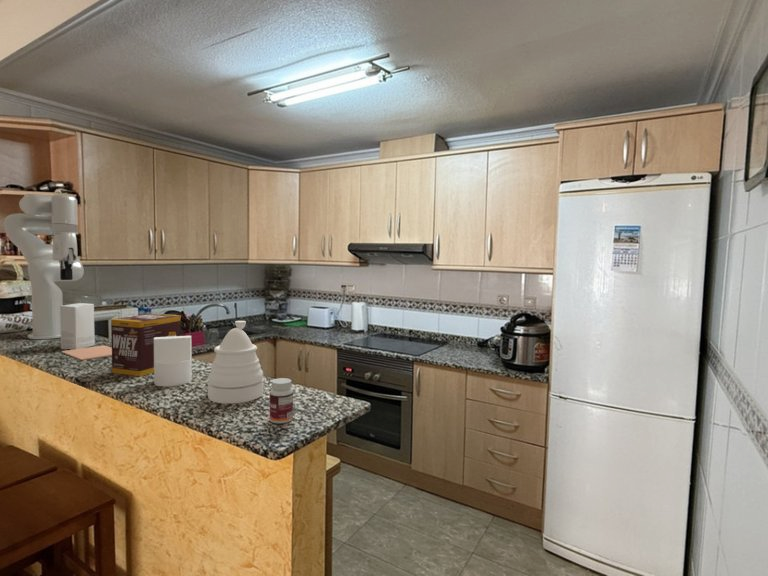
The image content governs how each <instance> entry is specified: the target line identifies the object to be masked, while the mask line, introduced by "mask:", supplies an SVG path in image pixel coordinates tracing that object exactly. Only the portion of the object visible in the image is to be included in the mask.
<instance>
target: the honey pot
mask: <svg viewBox="0 0 768 576" xmlns="http://www.w3.org/2000/svg"><path fill="white" fill-rule="evenodd" d="M246 324H247V321H246V320H235V321H234V325H235V326H236V327H234V328H232V329H230V330H228V332H227V333H226V335H225V336H224V338H223V339H222V341H221V342H220V345H217V346H216V347H214V349H213V351H214V353H216V355H215V358H214V360H213V361H212V366H211V368H210V372H209V373H208V375H207V398H208V399H209V400H210V401H211V402H213V403H214V402H215V403H218V404H219V403H220V404H239V403H240V404H241V403H246V402H251V401H254V400H256V399H258V398H261V397H262V396H263V394H264V370H262V367H261V363H260V358H259V357H258V356H257V353H256V351H257V350H258V347H257V345H255V344H253V343H252V341H251V339H250V338H249V336H248V335H247V333H246V332H245V331H244V330H243V329H245V327H246Z"/></svg>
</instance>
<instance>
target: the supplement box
mask: <svg viewBox="0 0 768 576" xmlns="http://www.w3.org/2000/svg"><path fill="white" fill-rule="evenodd" d="M181 320H182V317H181V315H179V314H169V313H167V314H166V313H155V312H154V313H147V314H140V315H133V316H126V317H118V318H111V319H110V321H111V322H110V324H111V325H110V329H111V337H110V338H111V348H112V356H111V373H112V374H118V375H126V376H133V377H143V376H146V375H150V374H154V338H155V337H172V336H182V334H181V333H182V332H181V329H182V328H181V327H182V326H181V325H182V324H181Z"/></svg>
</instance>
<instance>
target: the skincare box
mask: <svg viewBox="0 0 768 576" xmlns="http://www.w3.org/2000/svg"><path fill="white" fill-rule="evenodd" d="M60 325H61V337H60V349H61V350H67V349H70V350H74V349H81V348H89V347H95V345H96V342H95V341H96V340H95V335H96V334H95V304H94V303H84V302H77V303H71V304H65V305H64V304H63V305H62V306H60Z"/></svg>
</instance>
